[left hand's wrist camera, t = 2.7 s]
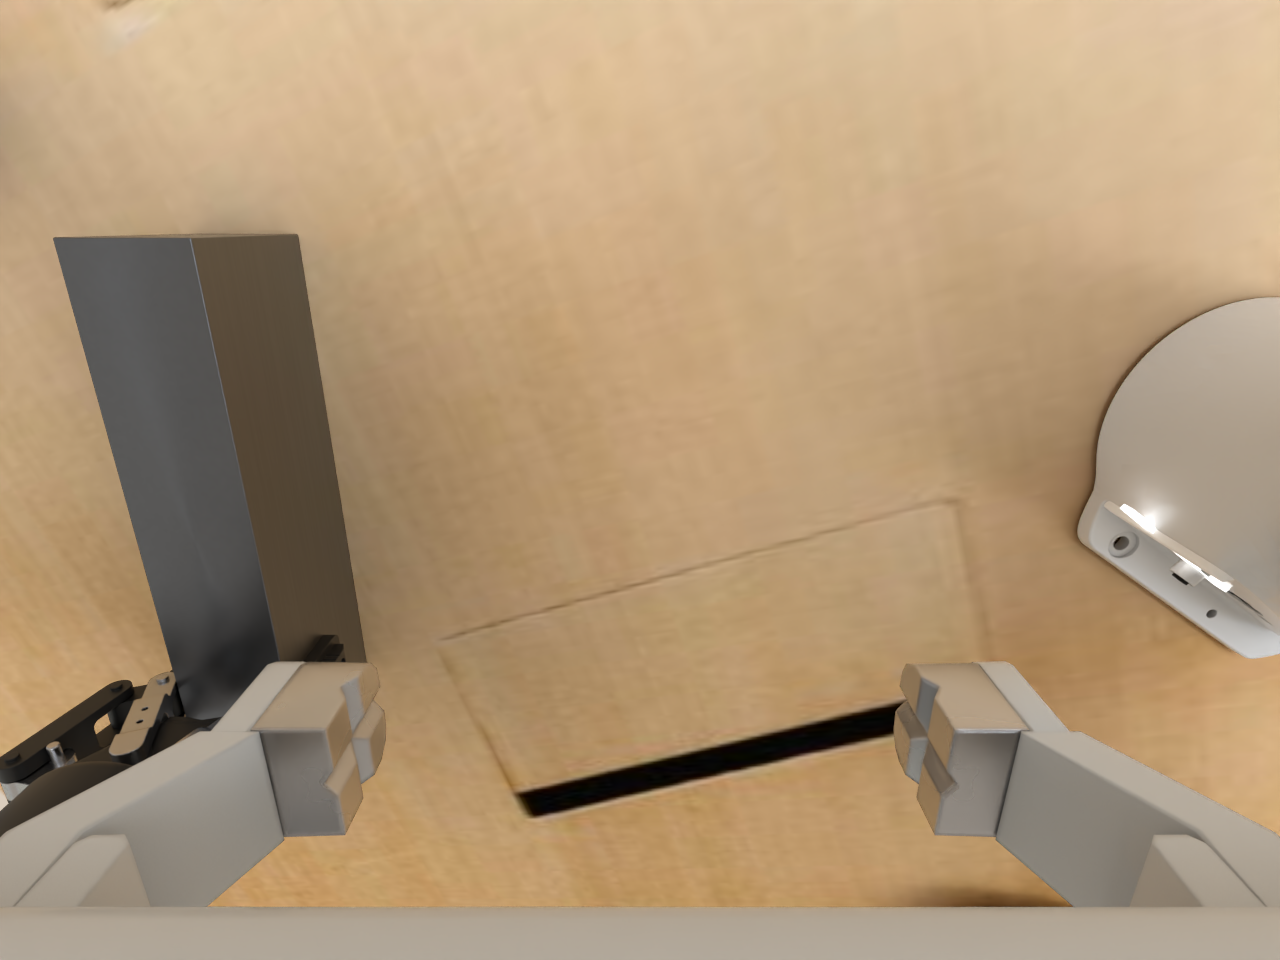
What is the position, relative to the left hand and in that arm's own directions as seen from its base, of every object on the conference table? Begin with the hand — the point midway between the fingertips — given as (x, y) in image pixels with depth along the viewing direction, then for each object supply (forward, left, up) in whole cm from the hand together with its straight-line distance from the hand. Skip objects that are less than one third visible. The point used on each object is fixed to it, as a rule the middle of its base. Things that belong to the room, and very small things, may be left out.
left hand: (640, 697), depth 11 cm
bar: (+9, +18, -28) cm, 35 cm away
